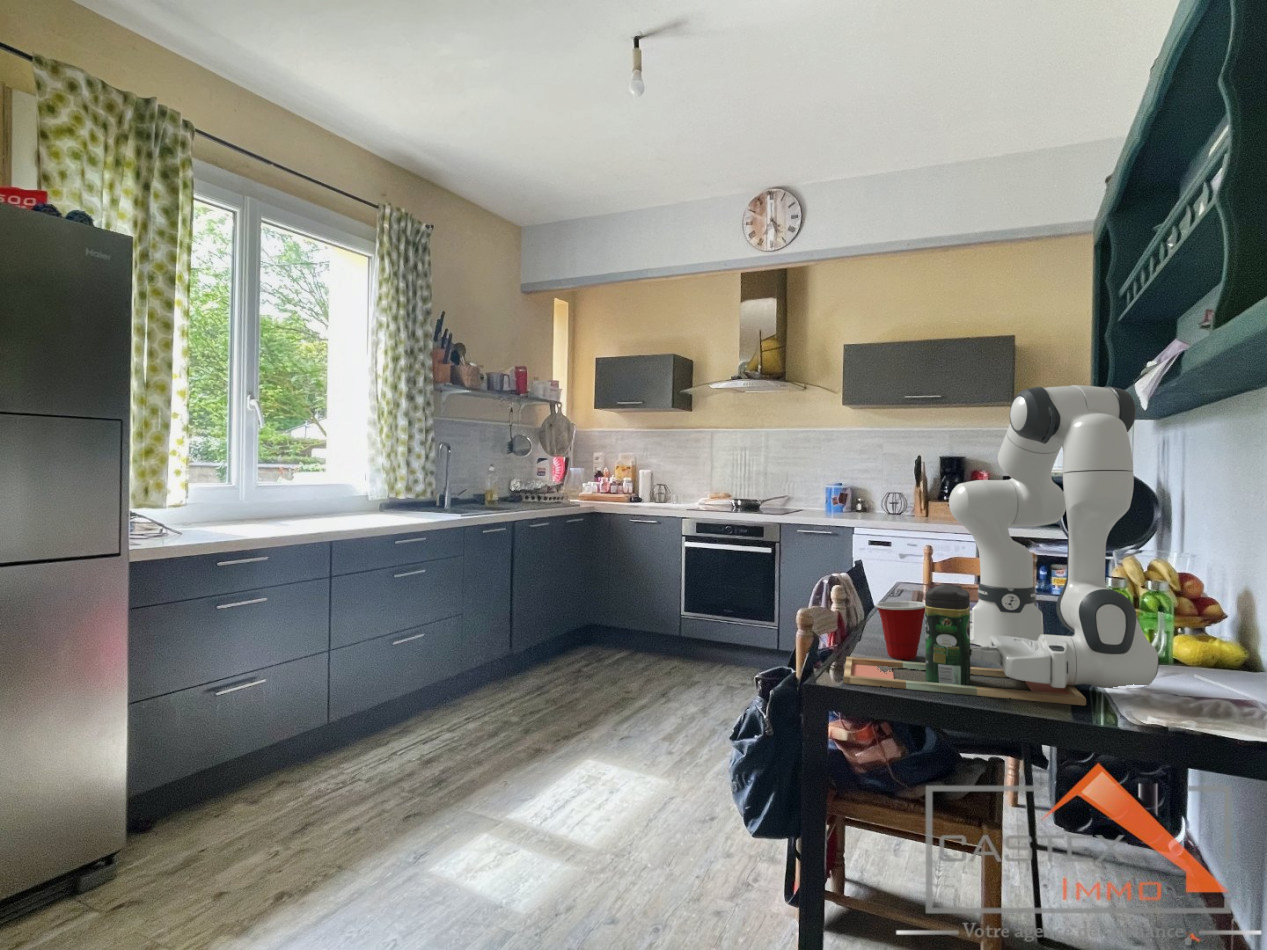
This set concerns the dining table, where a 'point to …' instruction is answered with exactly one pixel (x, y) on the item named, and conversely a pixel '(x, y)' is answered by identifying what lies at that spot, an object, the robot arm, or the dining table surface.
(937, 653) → the coffee jar
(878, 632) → the dining table surface
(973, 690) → the channel
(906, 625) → the plastic cup
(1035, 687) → the mats
